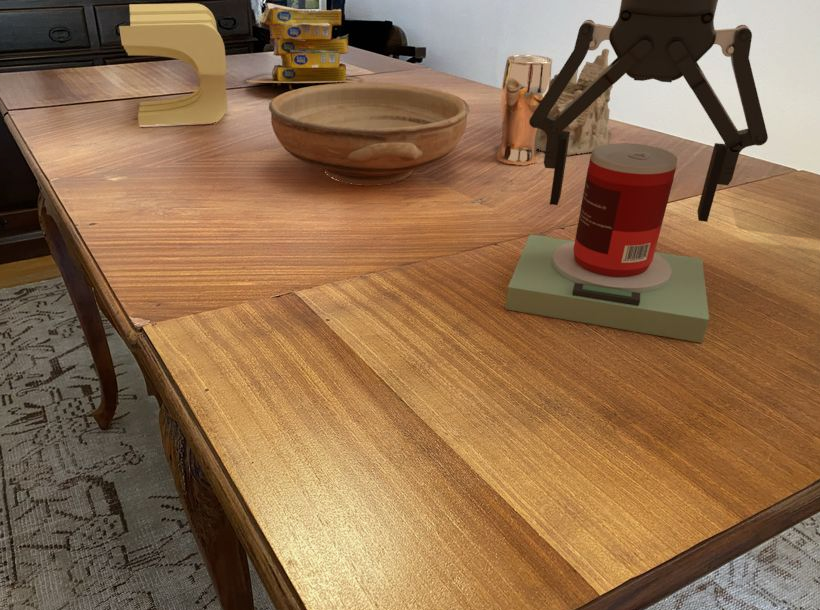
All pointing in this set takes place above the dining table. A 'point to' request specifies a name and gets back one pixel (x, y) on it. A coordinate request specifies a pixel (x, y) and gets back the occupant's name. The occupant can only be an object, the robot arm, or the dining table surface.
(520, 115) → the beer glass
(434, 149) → the ceramic bowl
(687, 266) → the kitchen scale
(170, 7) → the yellow c-shaped bracket
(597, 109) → the ceramic cottage
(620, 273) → the canned food
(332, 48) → the stacked yellow boxes
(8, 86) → the dining table surface
